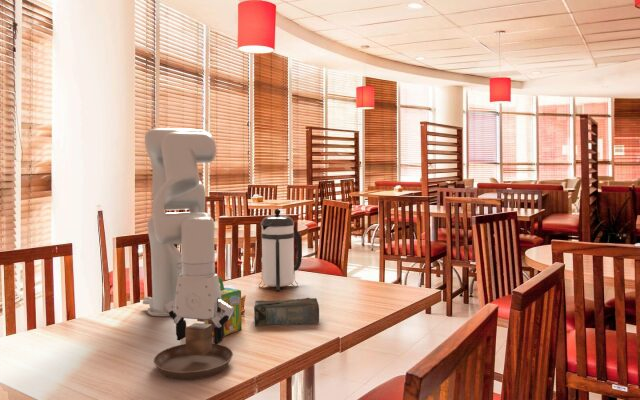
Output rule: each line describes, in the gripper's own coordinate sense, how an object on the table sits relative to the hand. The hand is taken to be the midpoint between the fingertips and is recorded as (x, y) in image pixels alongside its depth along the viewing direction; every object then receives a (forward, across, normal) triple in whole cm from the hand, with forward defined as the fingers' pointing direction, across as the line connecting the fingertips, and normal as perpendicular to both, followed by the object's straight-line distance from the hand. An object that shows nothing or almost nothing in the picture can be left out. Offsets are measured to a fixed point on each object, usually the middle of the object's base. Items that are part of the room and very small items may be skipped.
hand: (199, 340), depth 121 cm
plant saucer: (+6, 0, -3) cm, 7 cm away
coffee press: (+6, -8, +77) cm, 77 cm away
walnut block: (+2, 0, -1) cm, 3 cm away
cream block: (+5, -7, +9) cm, 12 cm away
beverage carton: (+6, +9, +35) cm, 37 cm away
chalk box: (+6, -6, +22) cm, 23 cm away
